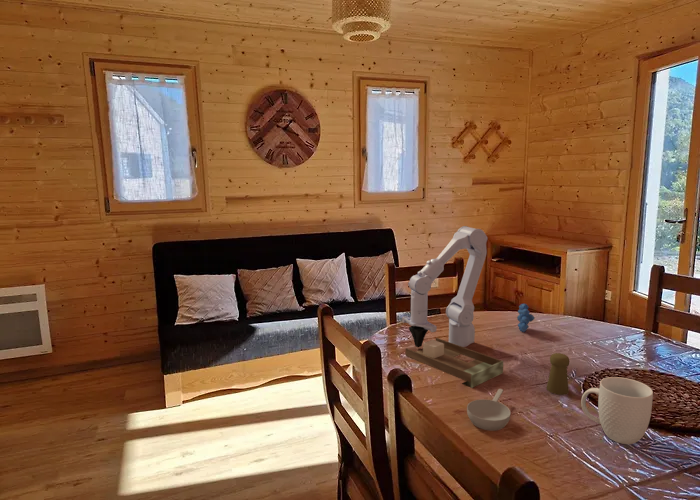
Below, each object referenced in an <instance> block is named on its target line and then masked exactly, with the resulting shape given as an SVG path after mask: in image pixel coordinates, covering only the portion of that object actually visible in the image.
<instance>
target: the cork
mask: <svg viewBox="0 0 700 500" xmlns="http://www.w3.org/2000/svg"><path fill="white" fill-rule="evenodd" d="M549 362H550V364H551V365H550V371H549V374H548V380H547V383H546V384H547V385H546V391H548V392H549V393H551V394H553V395H558V396H564V395H565V396H566V395H568V394H569V393H570V392H569V391H570V389H569V378H568V367H569V365H570V358H569V356H568V355H567V354H564V353H561V352H555V353H552V354H551V355H550V357H549Z"/></svg>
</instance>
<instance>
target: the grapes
mask: <svg viewBox="0 0 700 500" xmlns="http://www.w3.org/2000/svg"><path fill="white" fill-rule="evenodd" d="M518 308H519V309H518V310H517V313H518V315H517V317H516V318H517V319H516V320H517V321H518V323H517V326H518V329H519V331H520V333H521V332H522V333H525V332H526V331H527V330H528V329H529V327H530V326H529V325H528V324H529V323H530V322H533V321H534V320H535V318H536V317H535V316H534V315H533V314H532V313H531V312H530V311H529V310H528V309H530V307H529V305H528V304H527V303H520V304H519V306H518Z"/></svg>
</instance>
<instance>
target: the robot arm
mask: <svg viewBox="0 0 700 500" xmlns="http://www.w3.org/2000/svg"><path fill="white" fill-rule="evenodd" d="M487 242H488V236H487V233H485V231H484V230H483V229H481V228H474V227H470V226H466V225H463V226H461V227H460V228H458V229H457V231H456V232H454V234H453V237H452V238H451V240H450V241H449V242H448V243H447V245H446V246H445V247H444V249H442V251H441V252H440V253H439V254H438V256H437V257H436V258H431V259H430V260H427V261H426V262H425V263H426V264H425V265H424V266H423V268H422V269H420V270H419V271H417V274H415V275H414V274H413V275H412V276H411V277H410V278H409V282H407V285H408V287H409V289H410V316H408V315H406V316H402V321H401V323H407V324H408V325H409V326H408V330H409V332H410V333H411V336H412V339H413V342H414V347H416V348H420V347H423V343H424V340H425V336H426V334H427V333H428V331H429V332H431V333H435V332H437V325H435V324H433V323H431V322H430V321H428V296H429V295H428V293H429V292H430V291H431V289H432V284H433V282H434V281H436V279H437V278H438V277H439V276H440V275H441V273H443V272H444V270H445V269H444V266H445V264H447V262H449V261H450V259H452V258H453V257H454V256H455V255H456V254H457V253H458V252H459V251H460V250H466V251H467V252H468V254H469V256H468V259H467V263H466V266H465V268H464V269H465V270H464V273H463V275H462V278H461V280H460V281H461V282H460V285H459V287H458V291H457V295H456V296H454V297H453V298H451V300H450V302H449V304H448V306H446V309H445V315H446V317H447V318H448V342H450V343H453V344H456V345H459V346H461V347H464V348H466V347H468V346H469V345H471V344H473V343H475V338H476V337H475V336H476V335H475V334H476V329H475V328H476V327H475V326H474V324H473V321H474V319H475V318H474V317H475V314H474V311H475V306H474V303H473V299H474V298H473V297H474V296H475V292H476V288H477V285H478V283H479V282H478V281H479V279H480V276H481V273H482V269H483V267H484V264H485V261H486V257H487V253H488V252H487V251H488V250H487Z"/></svg>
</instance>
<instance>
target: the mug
mask: <svg viewBox="0 0 700 500" xmlns="http://www.w3.org/2000/svg"><path fill="white" fill-rule="evenodd" d="M590 394H596V395H598V398H597V399H598V400H597V401H598V402H597V405H598V406H597V407H598V417H597V416H595V415H593V414H592V413H591V412H590V411H589V410H588V407H587V404H586V403H587V401H586V400H587V397H588V396H589V395H590ZM653 398H654V392H653V389H652V388H651V387H650V386H649V385H647V384H645V383H643V382H641V381H638V380H636V379H635V380H634V379H632V378H626V377H623V376H622V377H620V376H619V377H618V376H611V377H604V378H602V379H601V380H600V381H599V388H598V387H590V388H588V389H587V390H585V392H584V393H582V396H581V401H580V402H581V403H580V405H581V409H582V412H583V413H584V415H585V416H586V417H587V418H588V419H589V420H591V421H593V422H595V423H597V424H599V425H601V429H602V430H603V432H604V434H605V435H606V437H607V438H608V439H610V440H611V441H613V442H615V443H618V444H622V445H634V444H636V443H637V442H639V441H640V440H641V439H642V438H643V437H644V435H645V434H646V431H647V429H648V427H649V425H650V420H651V415H652V409H653V407H652V406H653V400H654V399H653Z"/></svg>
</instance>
